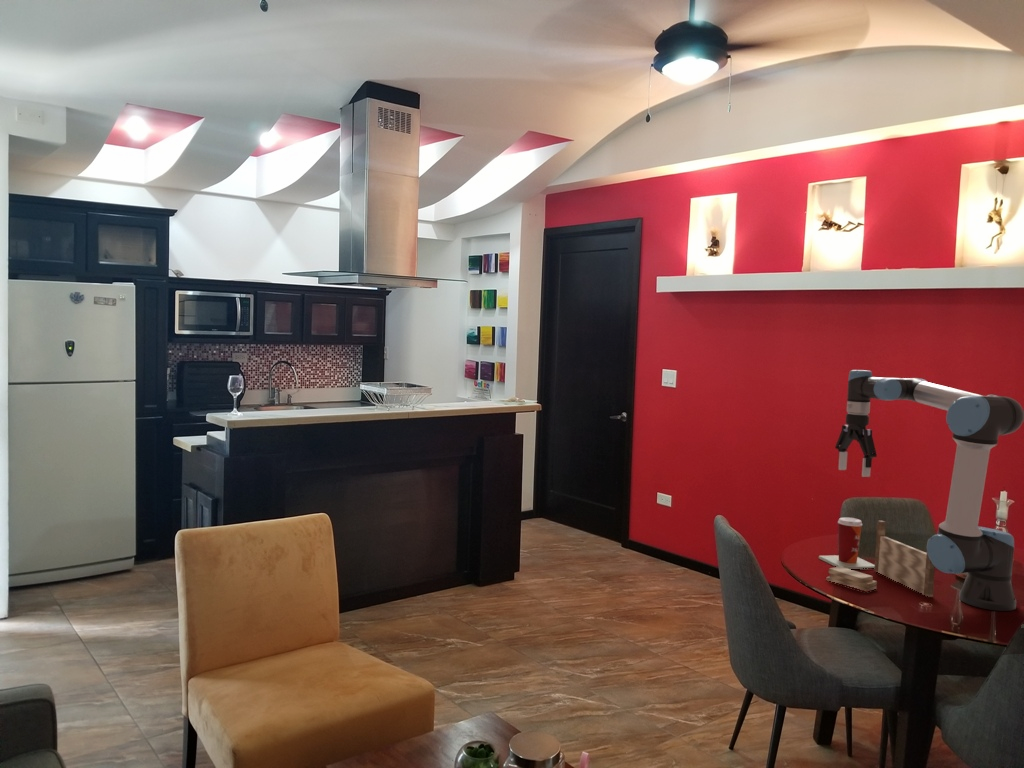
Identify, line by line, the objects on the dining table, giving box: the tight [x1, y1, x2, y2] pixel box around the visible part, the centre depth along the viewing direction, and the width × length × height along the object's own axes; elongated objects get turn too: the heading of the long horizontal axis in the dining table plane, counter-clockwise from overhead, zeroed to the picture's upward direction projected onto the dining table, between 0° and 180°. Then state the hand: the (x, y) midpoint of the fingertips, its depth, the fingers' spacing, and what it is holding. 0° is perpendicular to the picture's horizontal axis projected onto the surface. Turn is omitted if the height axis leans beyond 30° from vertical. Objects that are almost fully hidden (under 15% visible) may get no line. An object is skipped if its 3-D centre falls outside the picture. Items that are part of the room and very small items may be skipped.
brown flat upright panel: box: [873, 520, 936, 598], centre depth 261 cm, size 26×2×18 cm, turn 11°
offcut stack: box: [825, 566, 878, 591], centre depth 258 cm, size 14×6×4 cm, turn 36°
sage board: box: [818, 554, 875, 570], centre depth 283 cm, size 14×14×1 cm
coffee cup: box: [837, 516, 863, 563], centre depth 283 cm, size 8×8×15 cm
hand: (853, 473), depth 281 cm, fingers open, 13 cm apart
